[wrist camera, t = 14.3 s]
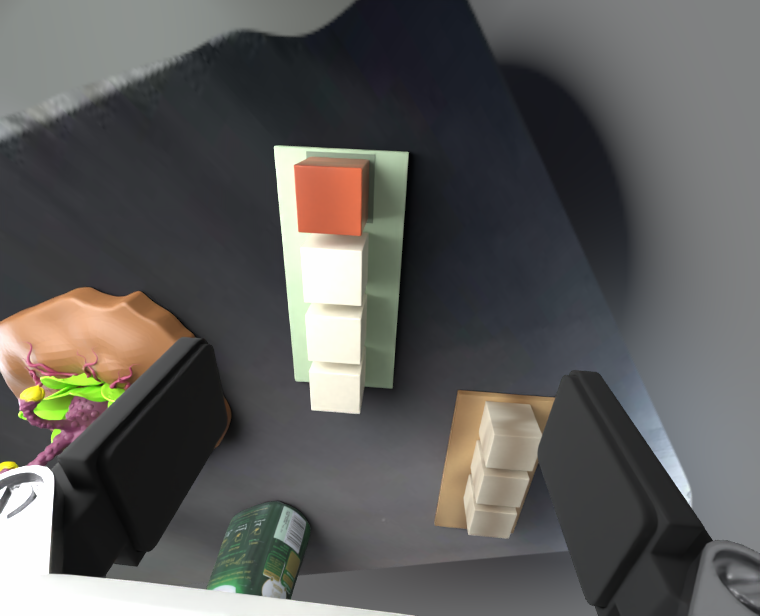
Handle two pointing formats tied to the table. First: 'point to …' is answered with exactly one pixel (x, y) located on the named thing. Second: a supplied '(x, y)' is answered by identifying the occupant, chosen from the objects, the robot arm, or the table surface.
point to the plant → (81, 358)
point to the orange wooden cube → (332, 195)
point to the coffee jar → (262, 552)
